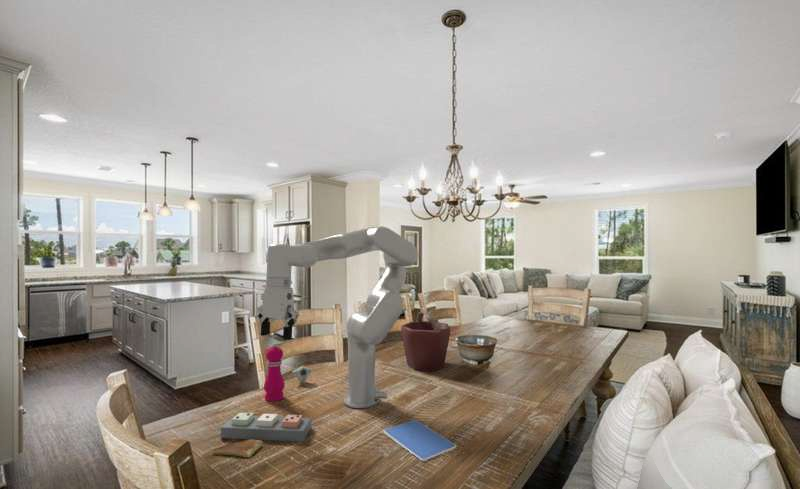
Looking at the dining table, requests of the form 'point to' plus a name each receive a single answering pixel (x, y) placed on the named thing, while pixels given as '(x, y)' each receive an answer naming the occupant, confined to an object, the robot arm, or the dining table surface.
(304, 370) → the pig figurine
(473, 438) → the dining table surface
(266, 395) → the pepper mill
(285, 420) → the key three pips
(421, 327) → the bucket
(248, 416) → the key two pips
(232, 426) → the key panel
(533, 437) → the dining table surface
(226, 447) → the shard
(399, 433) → the tablet computer
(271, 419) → the key one pip
